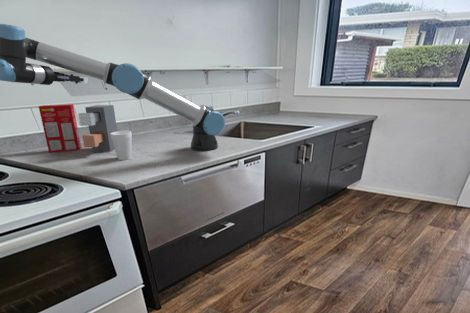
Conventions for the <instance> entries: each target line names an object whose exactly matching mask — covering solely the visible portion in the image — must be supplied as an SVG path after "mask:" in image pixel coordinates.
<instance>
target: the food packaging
mask: <svg viewBox="0 0 470 313" xmlns="http://www.w3.org/2000/svg"><path fill="white" fill-rule="evenodd" d="M38 110H39V114H40V118H41V119H40V120H41V123H42V128H43V132H44V135H45V136H44V137H45V140H46V145H47V149H48V153H50V154H51V153H61V152H63V153H64V152H74V151H80V150H81V149H82V144H81V139H80V133H79V127H78V123H77V119H76V117H77V116H76V112H75V107H74V104H73V103H72V104H71V103H70V104H68V103H67V104H50V105H48V104H47V105H46V104H45V105H44V104H43V105H40V106H38Z"/></svg>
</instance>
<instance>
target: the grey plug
mask: <svg viewBox="0 0 470 313" xmlns="http://www.w3.org/2000/svg"><path fill="white" fill-rule="evenodd" d="M78 120H79V125H80V126H81V127H82V126H83V127H85V126H86V127H89V126H92V125H95V122H98V121H101V117H100V112H93V113H86V112H80V113H78Z"/></svg>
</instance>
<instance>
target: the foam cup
mask: <svg viewBox="0 0 470 313" xmlns="http://www.w3.org/2000/svg"><path fill="white" fill-rule="evenodd" d="M110 134H111V139H112V141H113V144H114V148H115V150H114V151H115V154H116V157H117V160H119V161H126V160H130V159H132V155H133V154H132V151H133V150H132V145H133V144H132V141H133V140H132V138H133V135H132V131H131V130H117V132H112V133H110Z"/></svg>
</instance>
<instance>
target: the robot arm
mask: <svg viewBox="0 0 470 313" xmlns="http://www.w3.org/2000/svg"><path fill="white" fill-rule="evenodd" d="M27 59H30V60H33V61H37V62H40V63H44V64H46V65H42V64H36V63H29V62H27ZM47 64H48V65H51V66H54V67H58V68H60V69H63V70H64V69H65V70H68V71H71V72H74V73H78V74H81V75H84V76H79V75H74V74H72V73H71V74H65V73H63V72H59V71H54V70H53V69H52V67H50V66H48V65H47ZM85 76H88V77H85ZM89 77H91V78H95V79H97V80H101V81H103V82H104V84H107V85H109V86H111V87H112V86H113V87H115V89H118V91H120V92H122V93H123V94H127V95H129V96H130V97H133V98H135V99H137V100H142V99H145V100H147V101H149V102H150V103H151V102H152V103H153V104H155V105H156V106H159V107H161V108H163V109H165V110H167V111H169V112H171V113H173V114H175V115H177V116H179V117H181V118H183V119H185V120H187V121H189V122H191V125H192V137H191V142H190V149H191V150H192V151H196V152H206V151H213V150H216V149H218V147H219V143H218V140H217V138H216V136H218V135H219V134H221V133H222V132H223V131H224V129H225V126H226V119H225V117H224V115H223V114H222V113H221V112H220V111H216V110H214V107H213V105H206V104H200V105H198V104H197V103H195V102H193V101H191V100H189V99H188V98H186V97H184V96H182V95H180V94H179V93H176V92H174V91H173V90H171V89H169V88H167V87H165V86H163V85H161V84H160V83H158V82H156V81H155V80H153V79H152V76H151V75H150V74H149V73H146V72H144V71H143V70H141V69H139V68H138V67H137V66H136V65H134V64H131V63H121V64H118V63H117V64H116V63H113V62H102V61H100V60H96V59H93V58H90V57H87V56H84V55H81V54H78V53H75V52H72V51H68V50H66V49H63V48H60V47H56V46H53V45H51V44H48V43H47V44H46V43H44V42H40V41H38V40H35V39H31V38H28V37H27V35H26V31H25V29H24V28H22V27H20V26H16V25H12V24H7V23H0V81H2V82H9V83H10V82H11V83H17V84H18V83H19V84H21V83H22V84H30V85H31V86H34V85H43V86H44V85H45V86H50V85H52V84H53V83H54V82H58V83H59V82H64V83H65V82H71V83H72V82H73V83H74V84H78V83H81V84H88V83H89Z"/></svg>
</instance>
